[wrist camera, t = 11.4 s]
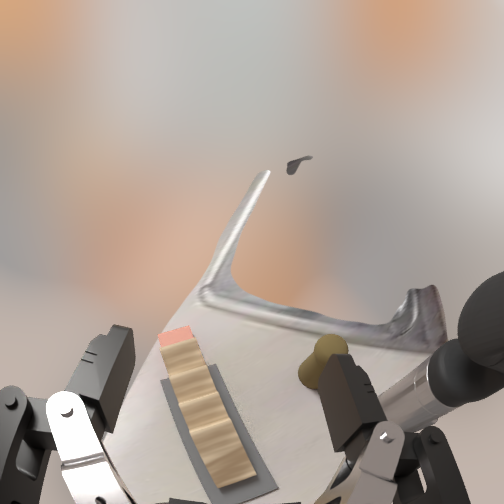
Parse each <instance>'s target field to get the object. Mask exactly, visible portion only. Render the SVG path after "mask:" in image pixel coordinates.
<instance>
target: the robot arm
mask: <svg viewBox="0 0 504 504" xmlns="http://www.w3.org/2000/svg"><path fill="white" fill-rule="evenodd" d="M134 366H135V348H134V338H133V330H132V329H131V328H128V327H123V326H119V325H113V326H112V327H111V329H110V331H109V333H108V335H107V336H106V335H102V334H100V335H98V336H97V337H96V338H94V339H93V340H92V341H91V342H90V343H89V345H88V347H87V349H86V351H85V353H84V354H83V356H82V358H81V361H80V362H79V364H78V365H77V367H76V369H75V371H74V373H73V375H72V377H71V379H70V381H69V383H68V385H67V387H66V389H65V390H64V391H63V392H60V393H57V394H55V395H53V396H52V397H51V398H50V399H40V398H31V397H27V396H26V395H25V393H24V392H23V391H22V390H21V389H20V388H19V387H16V386H7V387H4V388H3V389H1V390H0V504H39V500H40V495H41V490H42V486H43V481H44V477H45V473H46V469H47V465H48V461H49V458H50V454H51V451H52V450H56V451H59V454H60V457H61V459H62V465H61V470H62V473H63V476H64V479H65V481H66V483H67V486H68V488H69V490H70V493H71V495H72V496H73V499H74V501H75V503H76V504H137V503H136V501H135V499H134V498H133V496H132V495H131V493H130V492H129V490H128V488H127V487H126V485H125V484H124V482H123V481H122V479H121V477H120V475H119V474H118V472H117V470H116V468H115V466H114V464H113V462H112V461H111V459H110V457H109V455H108V453H107V450H106V448H105V446H104V444H103V442H102V437H103V434H104V431H106V432H109V433H112V434H113V431H114V428H115V425H116V421H117V418H118V415H119V412H120V408H121V405H122V402H123V399H124V396H125V393H126V390H127V387H128V384H129V381H130V378H131V375H132V373H133V369H134ZM502 388H504V271H503V272H501V273H498V274H496V275H494V276H492V277H491V278H489V279H487V280H486V281H485V282H483V283H482V284H481V285H480V286H479V287H478V288H477V289H476V290H475V291H474V292H473V293H472V295H471V296H470V297H469V299H468V300H467V302H466V303H465V305H464V307H463V309H462V312H461V314H460V318H459V323H458V339H452V340H450V341H448V342H446V343H444V344H443V345H442V346H441V347H440V348H438V349H437V350H436V351H435V352H434V353H433V354H432V355H431V356H429V357H428V358H427V359H426V360H425V361H424V362H422V363H421V364H420V365H419V366H418V367H416V368H415V369H414V370H413V371H412V372H410V373H409V374H408V375H406V376H405V377H404V378H403V379H401V380H400V381H399V382H397V383H396V384H395V385H393V386H392V387H391V388H389V389H388V390H386V391H385V392H383V393H382V394H381V395H380V396H378V397H377V395H376V393H375V390H374V388H373V386H372V385H371V381H370V379H369V377H368V375H367V373H366V372H365V371H364V370H363V369H362V368H361V367H360V366H356V365H355V363H354V360H353V358H352V356H351V355H350V354H332V355H331V356H330V357H329V359H328V361H327V363H326V365H325V367H324V369H323V371H322V373H321V375H320V377H319V380H318V392H319V395H320V399H321V403H322V406H323V410H324V414H325V418H326V421H327V425H328V429H329V433H330V436H331V440H332V444H333V448H334V452H342V451H345V455H346V456H345V457H344V458H343V460H342V462H341V464H340V465H339V467H338V469H337V471H336V473H335V475H334V476H333V478H332V480H331V482H330V483H329V485H328V487H327V489H326V490H325V492H324V493H323V494H322V495H321V496H320V497H319V498H318V499H317V501H316V502H315V503H314V504H391V503H392V502H393V504H471V503H470V500H469V497H468V494H467V491H466V488H465V485H464V482H463V480H462V477H461V474H460V471H459V469H458V466H457V464H456V461H455V459H454V456H453V454H452V451H451V449H450V447H449V444H448V442H447V439H446V437H445V435H444V433H443V432H442V431H441V430H440V429H439V428H437V427H435V426H430V425H433V424H435V423H436V422H437V420H438V418H439V417H441V416H443V415H445V414H447V413H449V412H451V411H453V410H454V409H456V408H458V407H460V406H462V405H464V404H466V403H469V402H475V401H479V400H482V399H485V398H487V397H489V396H490V395H492V394H494V393H495V392H497V391H499V390H501V389H502ZM421 429H423V430H422V431H421V432H420V433H414V432H416V431H419V430H421ZM420 467H421V469H422V472H423V475H424V478H425V481H426V485H427V490H426V492H425V493H424V490H423V487H422V483H421V480H420V477H419V474H418V471H417V469H419V468H420ZM157 504H206V503H203V502H194V501H187V500H180V499H173V498H170V499H169V502H168V503H157ZM284 504H301V502H296V503H284Z"/></svg>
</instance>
